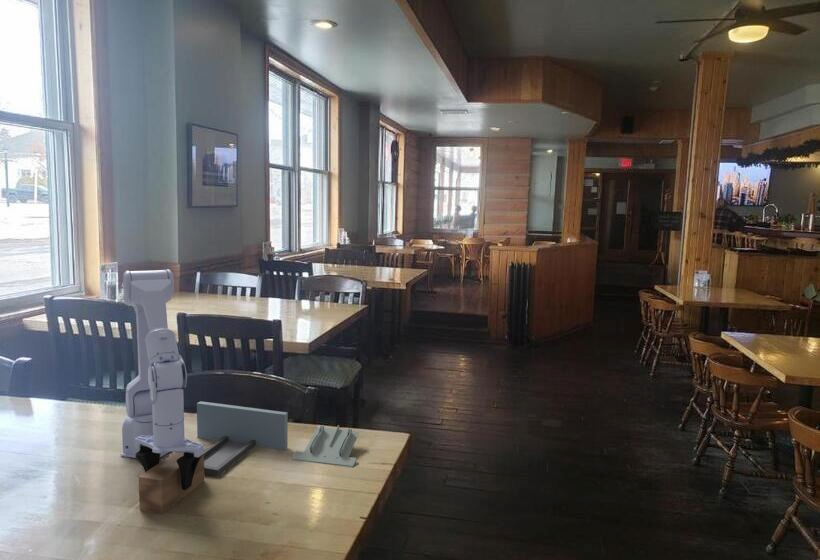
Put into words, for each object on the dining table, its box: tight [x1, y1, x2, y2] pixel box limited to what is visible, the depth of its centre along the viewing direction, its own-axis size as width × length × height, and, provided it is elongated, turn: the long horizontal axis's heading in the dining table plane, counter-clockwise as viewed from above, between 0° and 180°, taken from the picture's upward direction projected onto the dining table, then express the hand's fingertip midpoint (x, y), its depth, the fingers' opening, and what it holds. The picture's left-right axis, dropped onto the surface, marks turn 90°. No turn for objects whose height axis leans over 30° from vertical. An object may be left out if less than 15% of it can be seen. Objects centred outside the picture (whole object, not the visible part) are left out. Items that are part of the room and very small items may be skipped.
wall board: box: [196, 401, 289, 477], centre depth 134 cm, size 24×18×9 cm
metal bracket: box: [291, 424, 360, 469], centre depth 139 cm, size 14×6×15 cm
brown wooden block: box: [138, 452, 205, 515], centre depth 117 cm, size 5×14×7 cm, turn 167°
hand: (170, 484), depth 116 cm, fingers open, 7 cm apart
